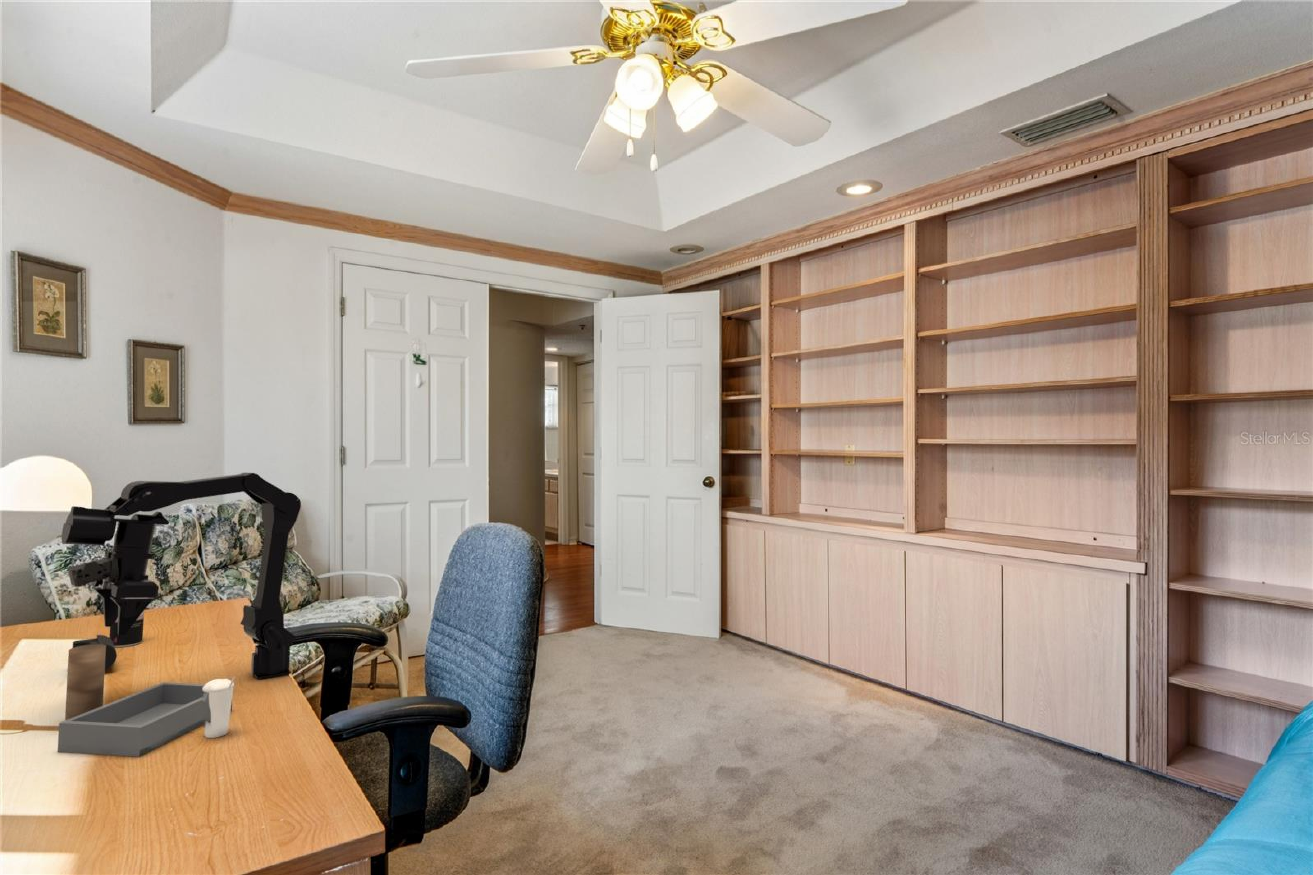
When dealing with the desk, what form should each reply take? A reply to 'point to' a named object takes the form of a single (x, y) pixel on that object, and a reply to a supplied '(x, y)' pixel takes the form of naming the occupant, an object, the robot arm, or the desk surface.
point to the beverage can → (128, 633)
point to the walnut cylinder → (85, 679)
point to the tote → (135, 721)
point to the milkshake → (217, 706)
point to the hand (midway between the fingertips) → (114, 630)
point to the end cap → (101, 639)
